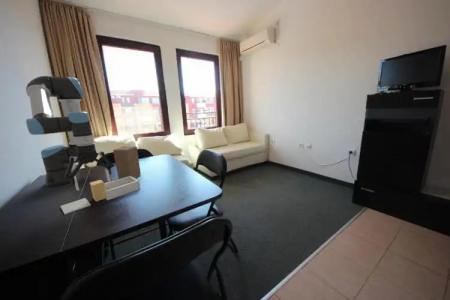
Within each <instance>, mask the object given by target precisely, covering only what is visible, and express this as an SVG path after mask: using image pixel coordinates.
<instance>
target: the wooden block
mask: <svg viewBox="0 0 450 300" xmlns="http://www.w3.org/2000/svg"><path fill="white" fill-rule="evenodd" d="M112 151H113V156H114V162H115V168H116V172H117V177H118V178H117V180H118V179H121V178H124V177H128V176H131V177H133V178H135V179H136V178H137V177H138V176H141V173H142V172H141V166H140V159H139V154H138V153H139V151H138V147H137V146H125V145H124V146H121V147H118V148H115V149H113V150H112Z"/></svg>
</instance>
